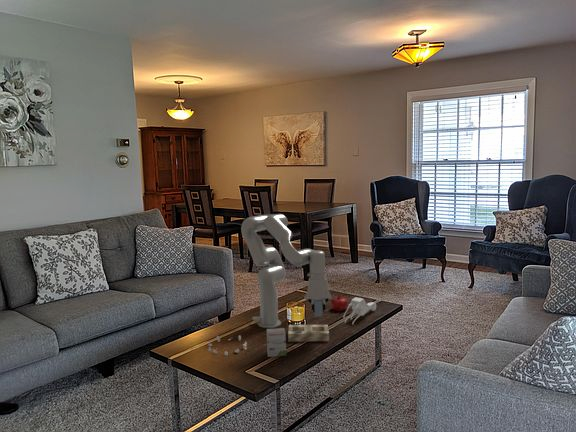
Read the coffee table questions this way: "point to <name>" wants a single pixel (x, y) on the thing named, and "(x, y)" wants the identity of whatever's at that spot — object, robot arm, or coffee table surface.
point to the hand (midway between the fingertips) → (318, 311)
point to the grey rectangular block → (318, 307)
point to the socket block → (308, 333)
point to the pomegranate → (339, 303)
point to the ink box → (276, 342)
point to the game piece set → (226, 352)
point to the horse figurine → (359, 307)
